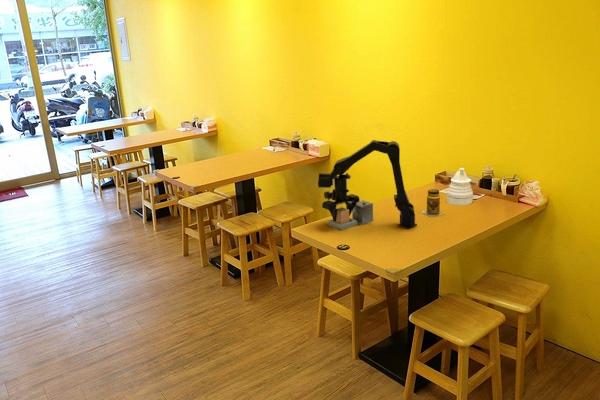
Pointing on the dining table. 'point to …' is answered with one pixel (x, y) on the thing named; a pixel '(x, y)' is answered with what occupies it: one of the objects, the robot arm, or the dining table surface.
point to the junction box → (363, 212)
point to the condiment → (433, 203)
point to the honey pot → (460, 189)
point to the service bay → (343, 226)
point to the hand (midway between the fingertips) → (341, 219)
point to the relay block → (342, 216)
